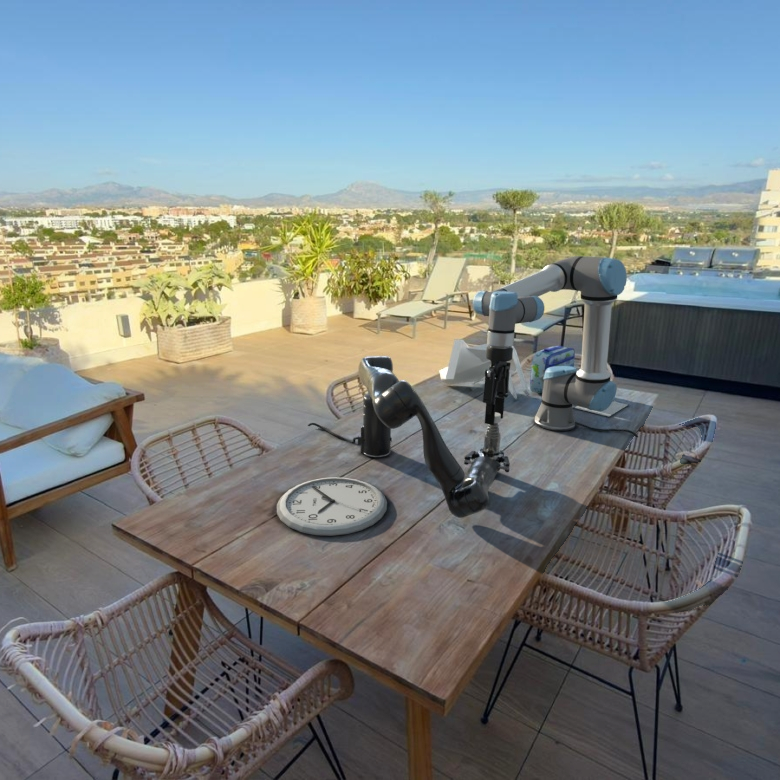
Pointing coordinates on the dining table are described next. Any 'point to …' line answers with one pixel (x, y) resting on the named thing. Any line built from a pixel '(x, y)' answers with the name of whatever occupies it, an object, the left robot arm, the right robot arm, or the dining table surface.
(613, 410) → the invitation card
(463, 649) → the dining table surface
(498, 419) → the cap
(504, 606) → the dining table surface
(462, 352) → the white plastic object
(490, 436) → the bottle
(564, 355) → the lunch box
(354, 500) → the wall clock
